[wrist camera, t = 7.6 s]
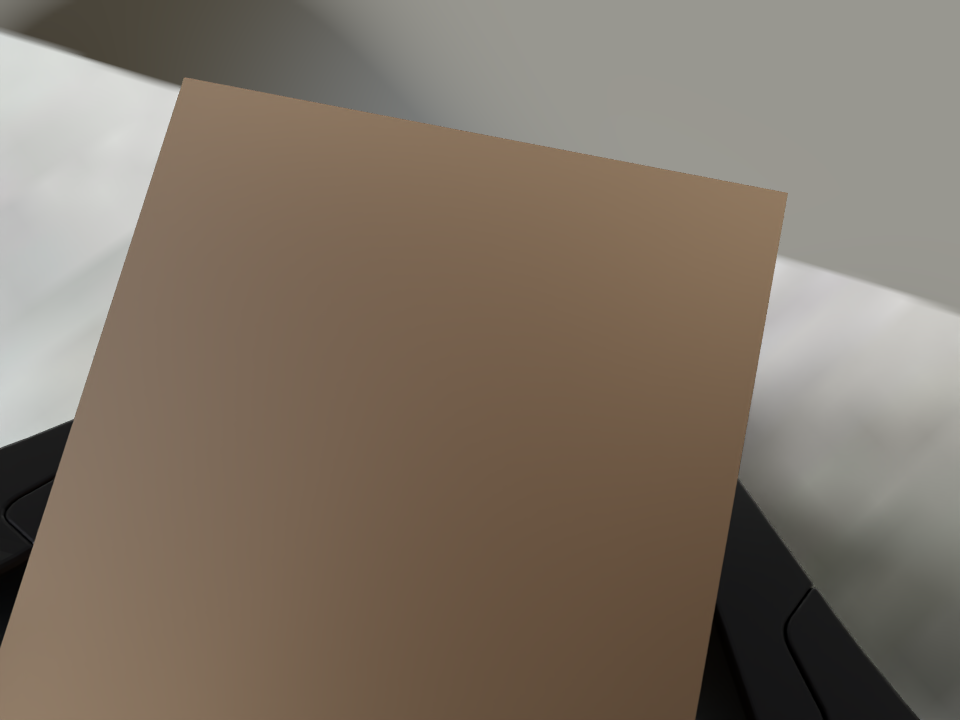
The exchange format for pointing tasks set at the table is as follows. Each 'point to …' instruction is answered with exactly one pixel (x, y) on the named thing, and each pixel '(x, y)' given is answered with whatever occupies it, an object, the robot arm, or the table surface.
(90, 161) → the table surface
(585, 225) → the walnut finger
